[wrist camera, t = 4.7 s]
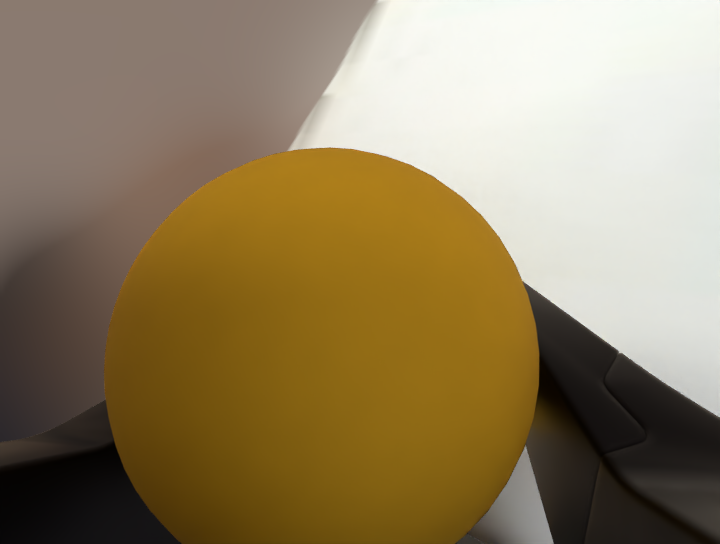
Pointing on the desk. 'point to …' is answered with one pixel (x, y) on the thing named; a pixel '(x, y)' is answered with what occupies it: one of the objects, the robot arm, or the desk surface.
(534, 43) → the desk surface
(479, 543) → the slate bowl
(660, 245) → the desk surface
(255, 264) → the yellow blob
